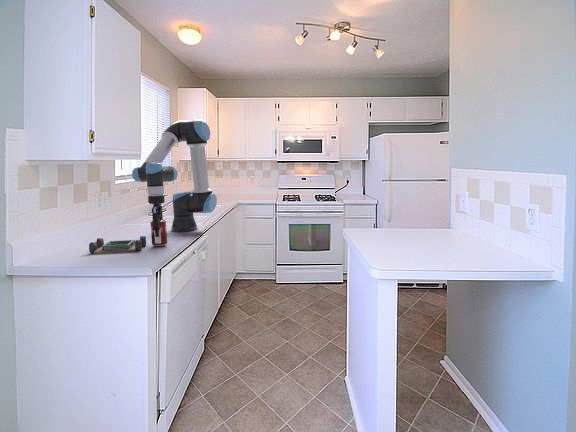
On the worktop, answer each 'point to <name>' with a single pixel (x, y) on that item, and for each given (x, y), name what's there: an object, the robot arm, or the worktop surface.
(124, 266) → the worktop surface
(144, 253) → the worktop surface
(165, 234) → the soda can
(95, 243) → the chassis
